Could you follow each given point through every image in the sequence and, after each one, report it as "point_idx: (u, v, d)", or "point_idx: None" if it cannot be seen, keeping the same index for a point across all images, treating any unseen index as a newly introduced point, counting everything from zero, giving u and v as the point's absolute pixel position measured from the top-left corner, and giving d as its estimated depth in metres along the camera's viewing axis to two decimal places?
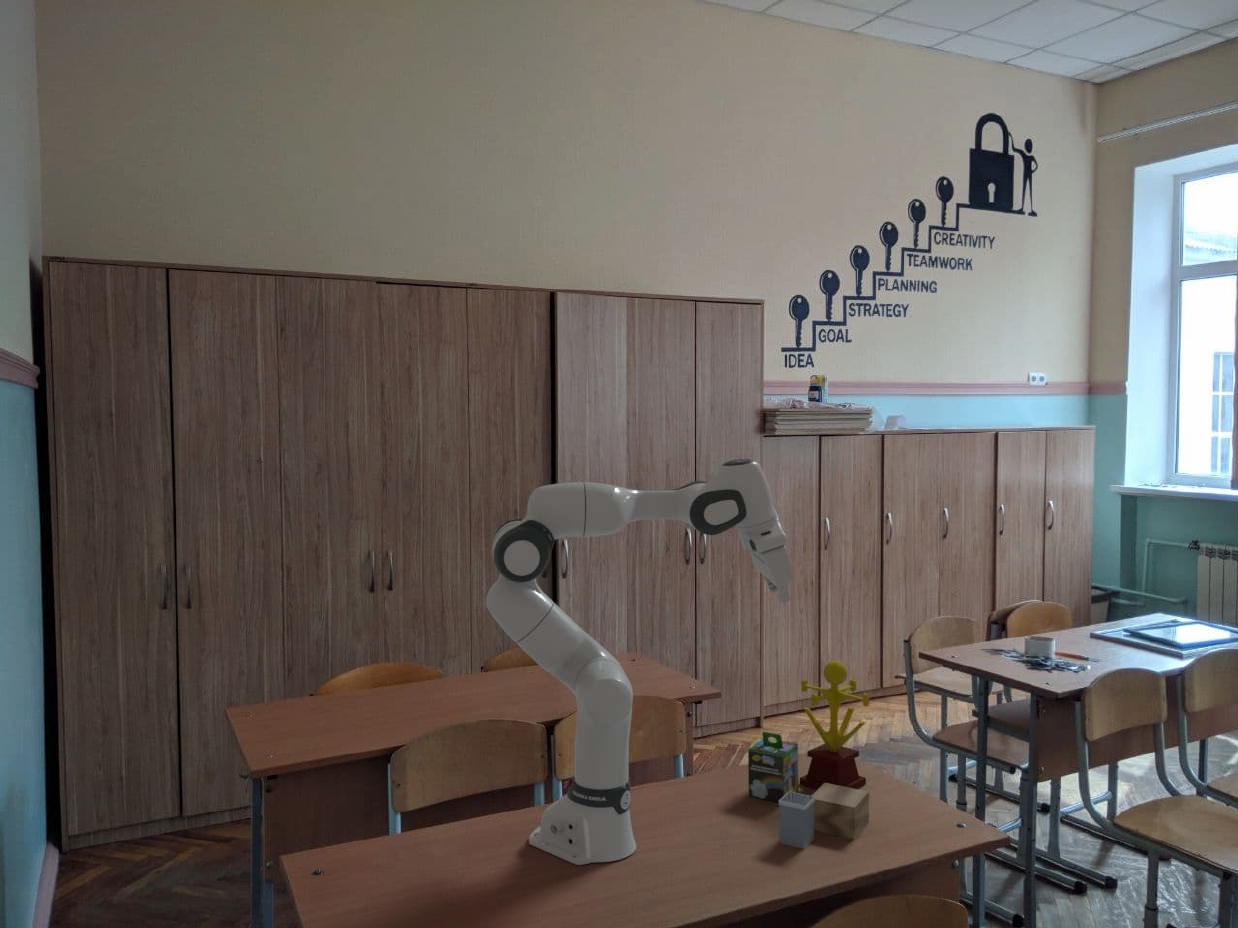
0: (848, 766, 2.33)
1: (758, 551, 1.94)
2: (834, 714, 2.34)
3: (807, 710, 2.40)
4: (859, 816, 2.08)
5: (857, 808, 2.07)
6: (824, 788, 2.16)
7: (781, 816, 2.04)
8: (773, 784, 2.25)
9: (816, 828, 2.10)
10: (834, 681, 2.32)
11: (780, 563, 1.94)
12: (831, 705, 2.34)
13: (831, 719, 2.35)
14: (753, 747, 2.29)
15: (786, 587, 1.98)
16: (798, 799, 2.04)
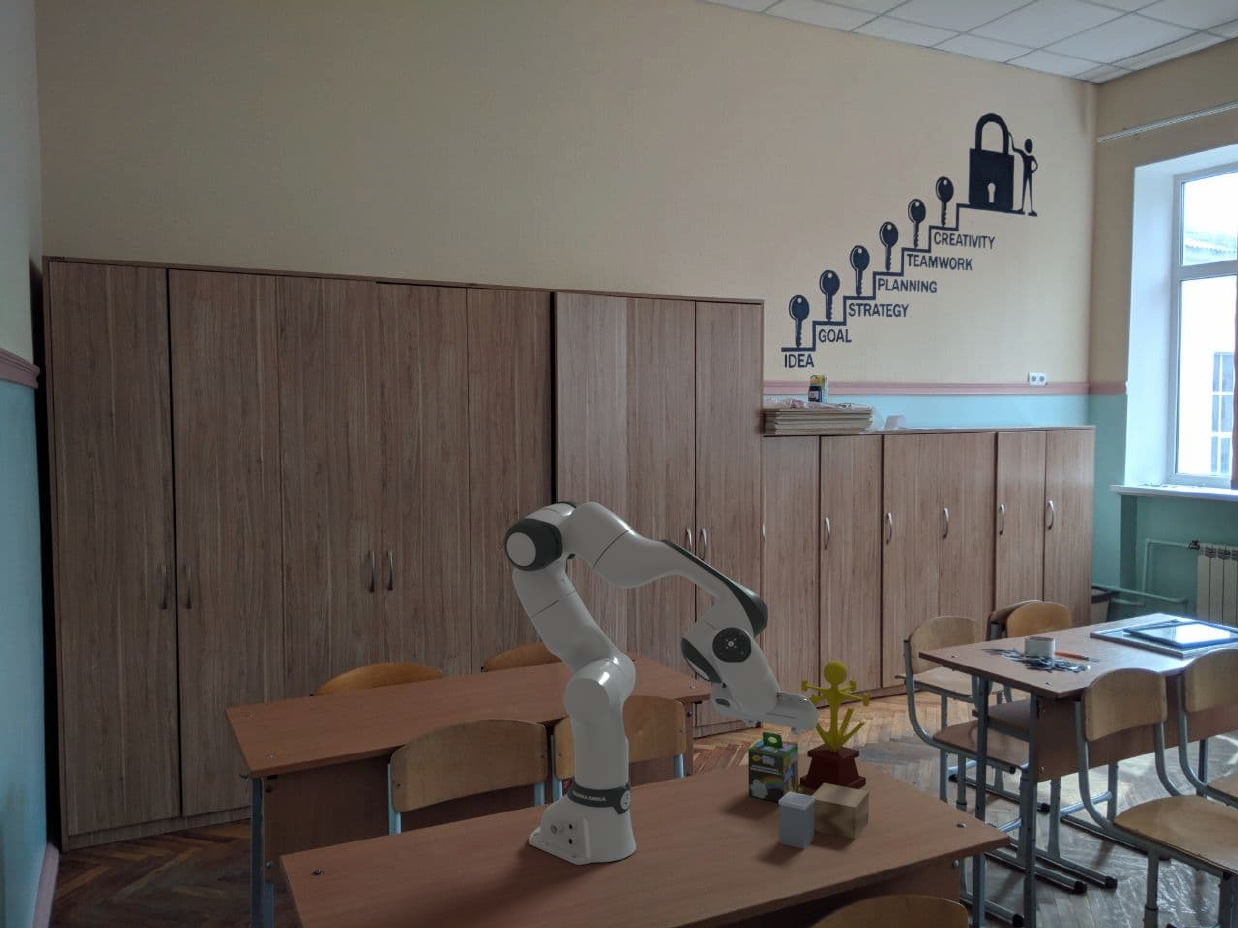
0: (848, 766, 2.33)
1: None
2: (834, 714, 2.34)
3: None
4: (859, 816, 2.08)
5: (858, 808, 2.07)
6: (823, 788, 2.15)
7: (781, 816, 2.04)
8: (773, 784, 2.25)
9: (816, 828, 2.10)
10: (834, 681, 2.32)
11: None
12: (831, 705, 2.34)
13: (831, 719, 2.35)
14: (753, 747, 2.29)
15: None
16: (798, 799, 2.04)
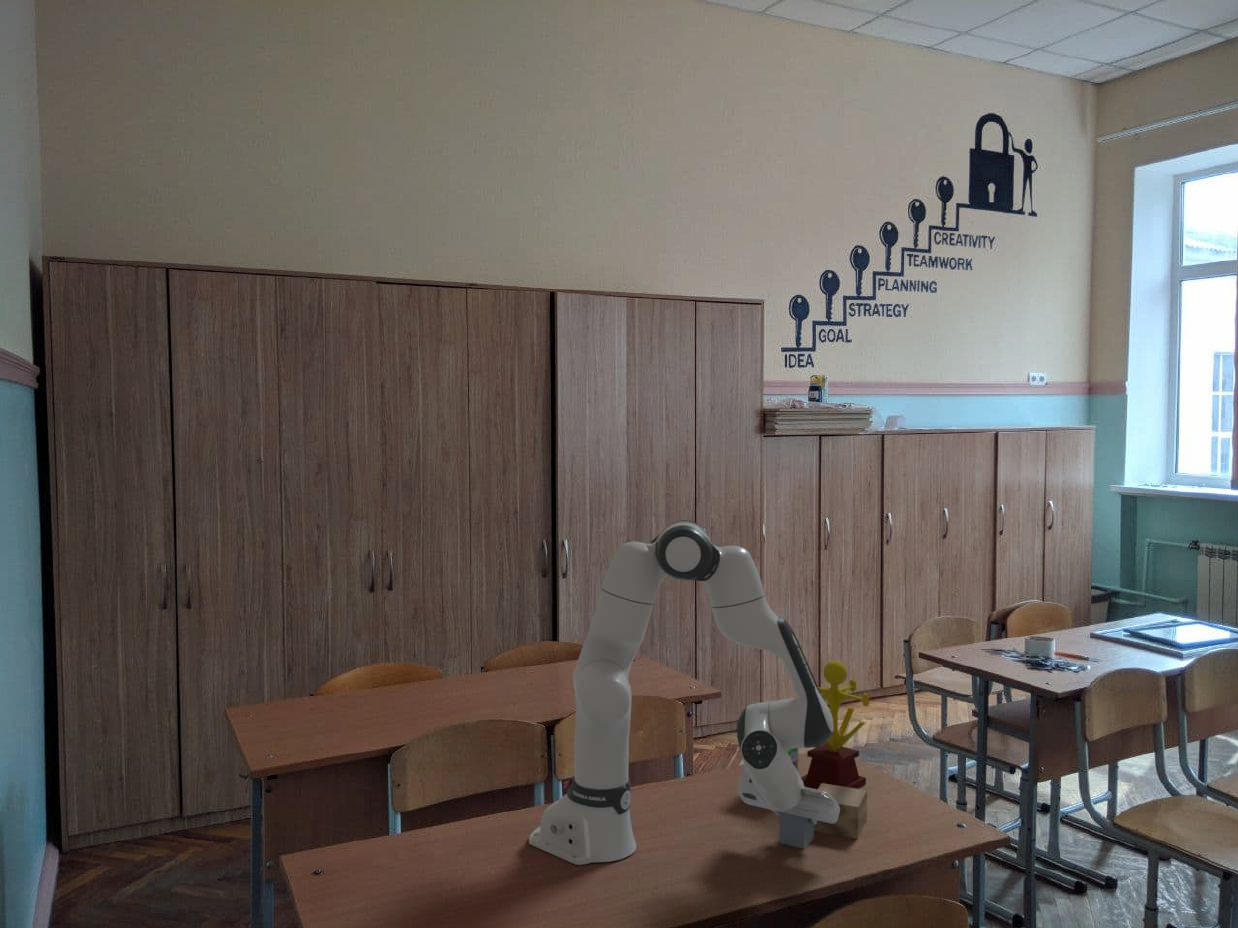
0: (848, 766, 2.33)
1: None
2: (834, 714, 2.34)
3: None
4: (861, 816, 2.09)
5: (860, 808, 2.08)
6: (822, 789, 2.15)
7: (781, 816, 2.04)
8: None
9: (818, 829, 2.09)
10: (834, 681, 2.32)
11: None
12: (831, 705, 2.34)
13: None
14: None
15: None
16: None
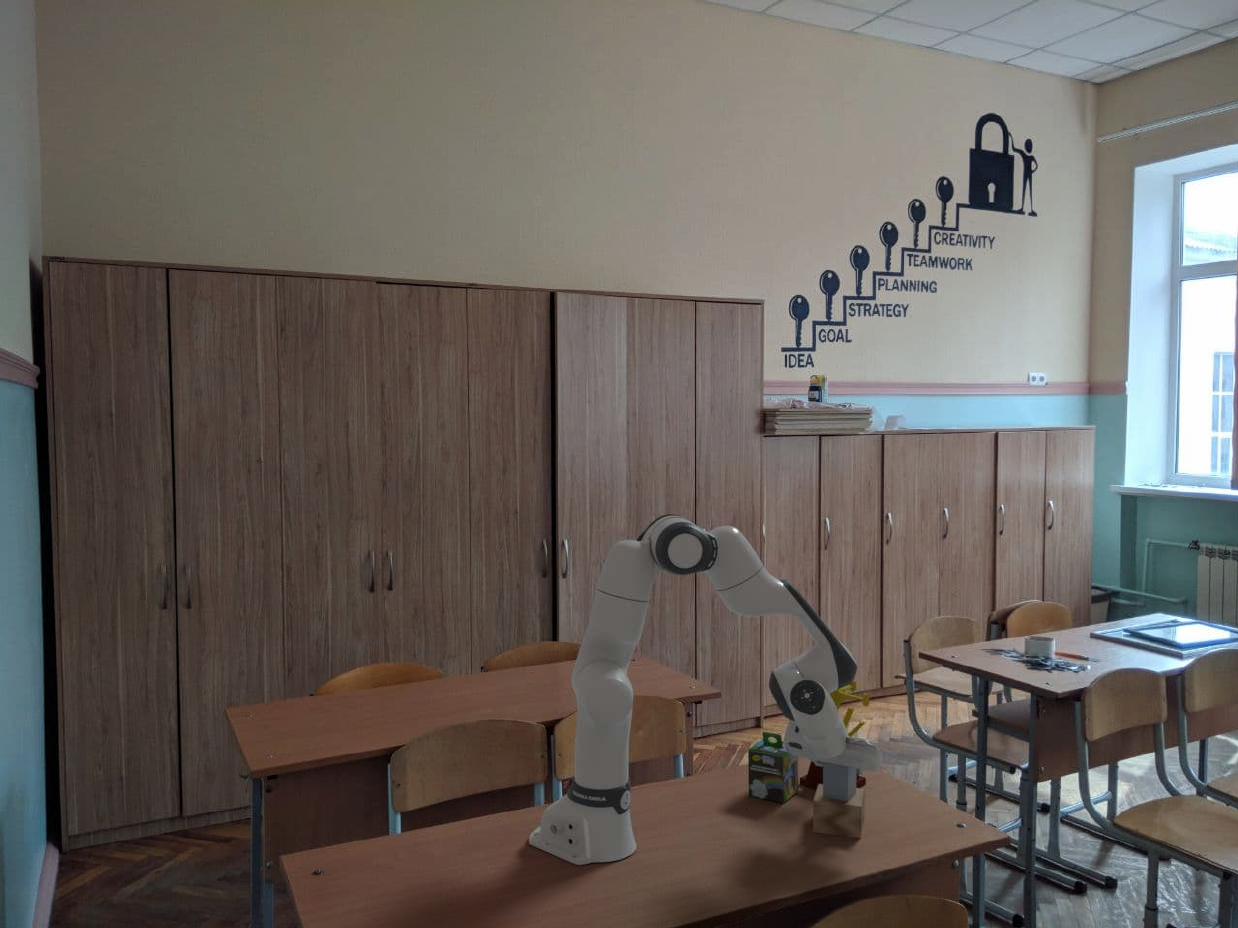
0: None
1: None
2: None
3: None
4: (862, 815, 2.09)
5: (862, 807, 2.08)
6: (821, 790, 2.15)
7: (825, 770, 2.11)
8: (773, 784, 2.25)
9: (821, 830, 2.09)
10: None
11: None
12: None
13: None
14: (753, 747, 2.29)
15: None
16: None
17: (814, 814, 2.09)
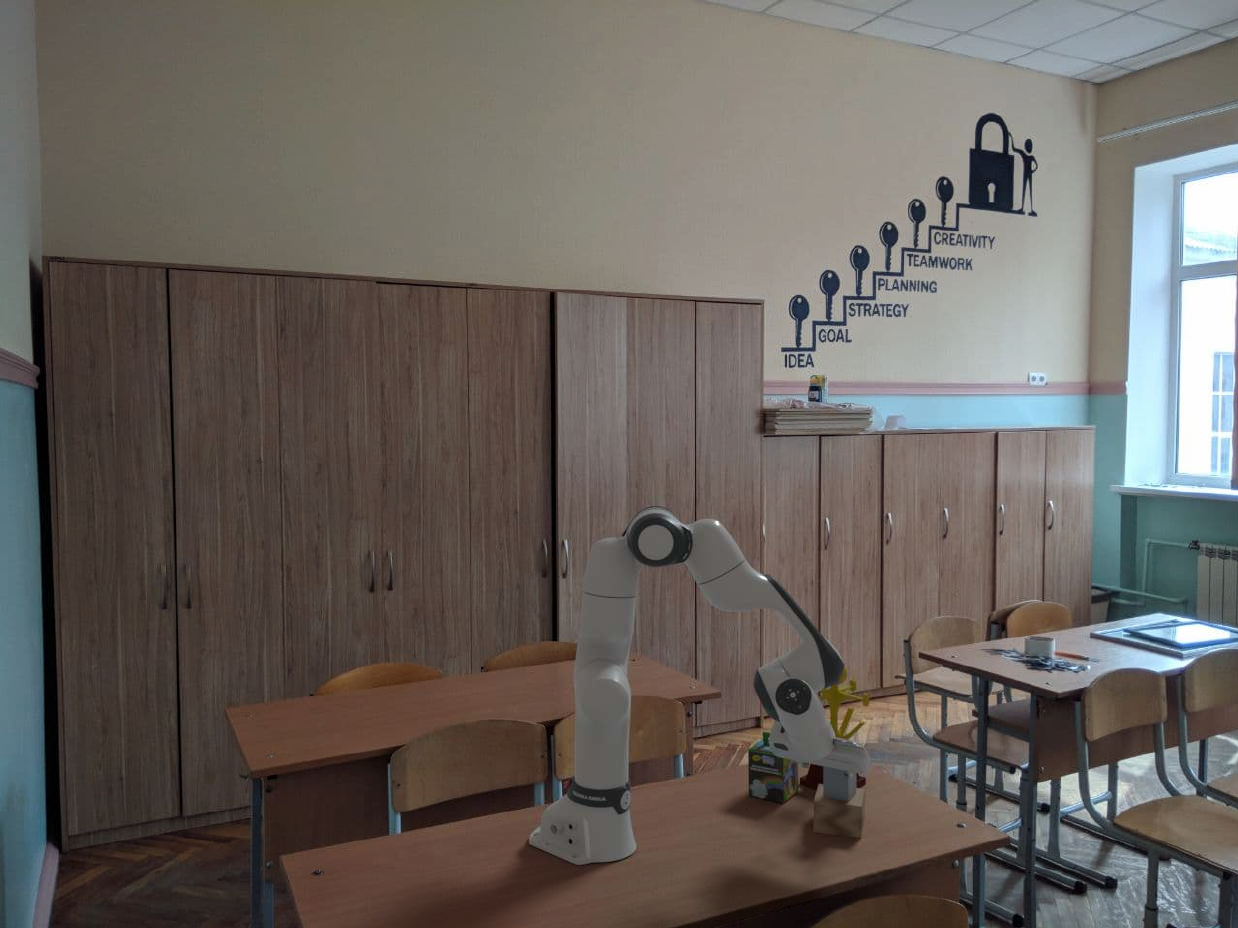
0: None
1: None
2: (834, 714, 2.34)
3: None
4: None
5: (862, 807, 2.08)
6: (822, 790, 2.15)
7: (825, 770, 2.11)
8: (773, 784, 2.25)
9: (821, 830, 2.09)
10: None
11: None
12: (831, 705, 2.34)
13: (831, 719, 2.35)
14: (753, 747, 2.29)
15: None
16: None
17: (814, 814, 2.09)
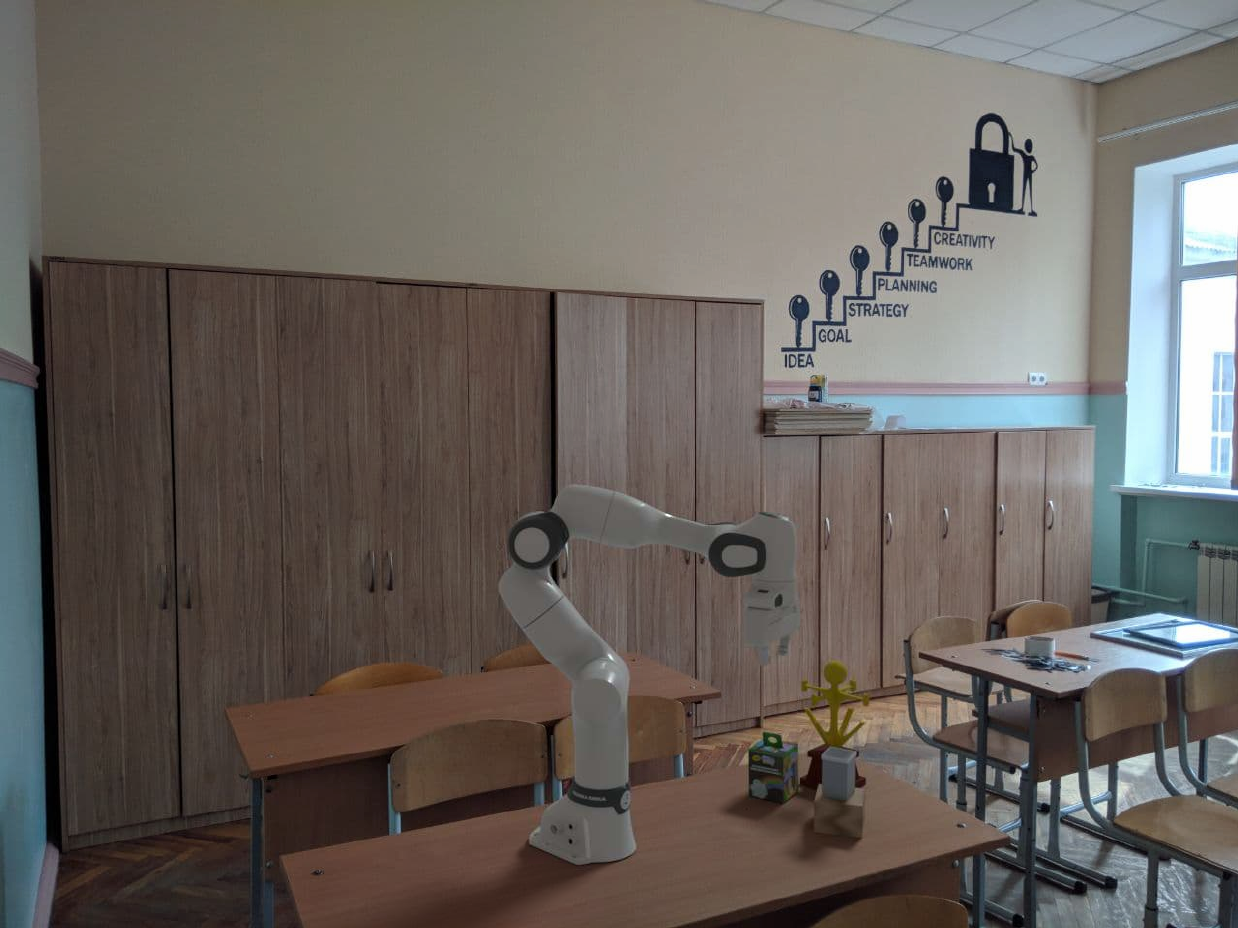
0: None
1: (743, 603, 1.93)
2: (834, 714, 2.34)
3: (807, 710, 2.40)
4: (863, 814, 2.09)
5: None
6: None
7: (824, 770, 2.11)
8: (773, 784, 2.25)
9: (822, 831, 2.09)
10: (834, 681, 2.32)
11: (756, 624, 1.90)
12: (831, 705, 2.34)
13: (831, 719, 2.35)
14: (753, 747, 2.29)
15: (764, 651, 1.93)
16: (840, 754, 2.11)
17: (815, 814, 2.09)
